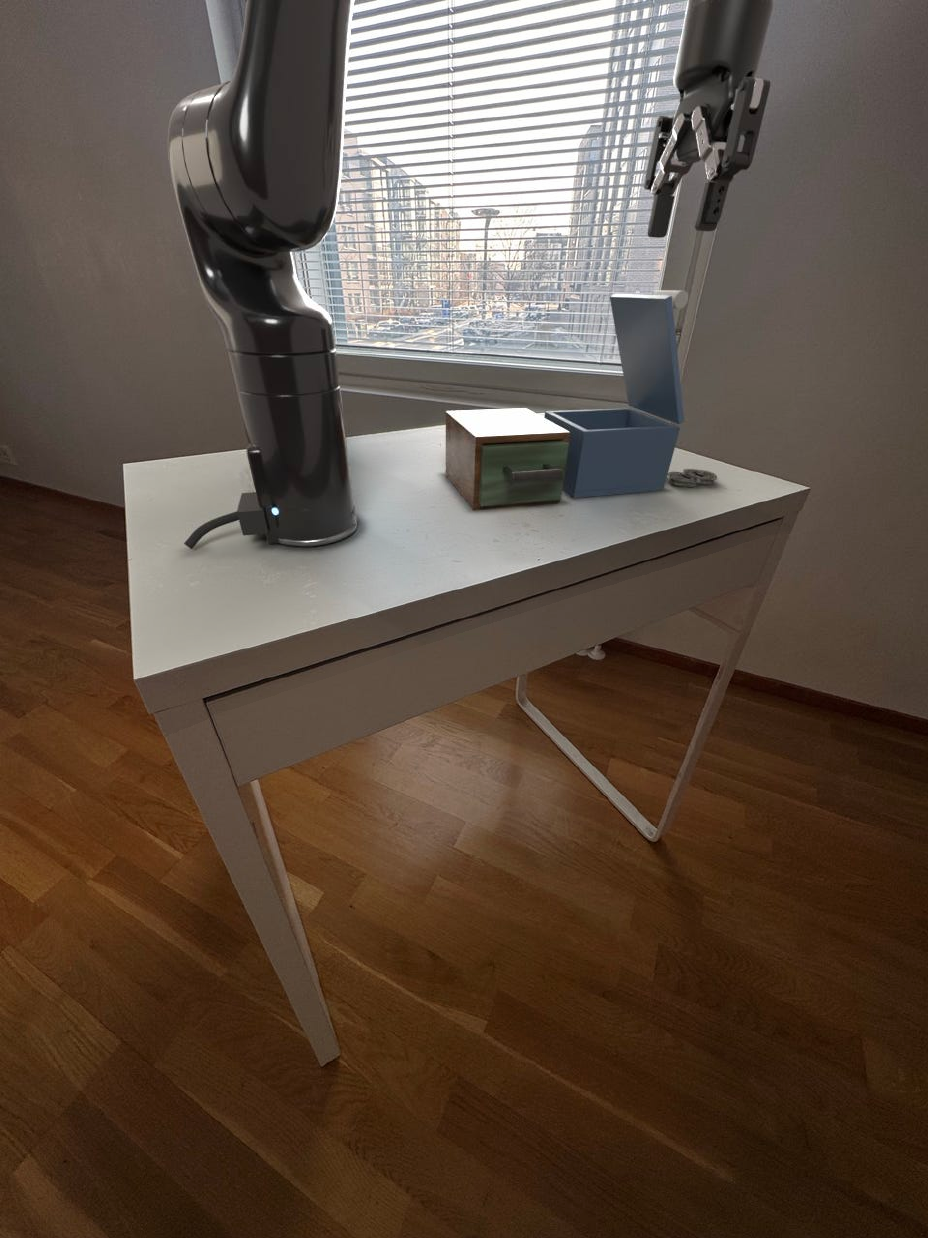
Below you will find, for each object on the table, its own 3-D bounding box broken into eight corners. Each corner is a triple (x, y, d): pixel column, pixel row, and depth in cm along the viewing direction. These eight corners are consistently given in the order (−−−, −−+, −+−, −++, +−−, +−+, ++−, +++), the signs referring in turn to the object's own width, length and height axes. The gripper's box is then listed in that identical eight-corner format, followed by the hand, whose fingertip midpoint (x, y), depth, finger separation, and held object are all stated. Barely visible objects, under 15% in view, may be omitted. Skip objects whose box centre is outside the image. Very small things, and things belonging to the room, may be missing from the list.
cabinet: (560, 502, 60) (570, 431, 55) (473, 510, 57) (475, 436, 52) (520, 469, 71) (526, 407, 66) (445, 474, 68) (445, 410, 63)
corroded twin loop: (656, 480, 68) (658, 473, 67) (695, 473, 71) (697, 466, 70) (684, 491, 64) (686, 484, 64) (724, 483, 67) (726, 476, 67)
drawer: (575, 511, 56) (585, 452, 52) (491, 519, 53) (495, 458, 49) (523, 468, 68) (527, 418, 64) (453, 473, 66) (454, 421, 62)
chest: (573, 498, 62) (584, 431, 57) (538, 470, 71) (544, 411, 66) (663, 490, 65) (680, 426, 60) (618, 464, 74) (630, 407, 69)
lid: (665, 298, 51) (706, 275, 51) (609, 296, 60) (644, 277, 60) (678, 424, 60) (714, 405, 60) (628, 405, 69) (659, 389, 69)
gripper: (828, -24, 39) (754, 230, 48) (709, 44, 50) (668, 240, 59) (754, -41, 37) (692, 226, 46) (648, 33, 48) (615, 237, 58)
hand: (678, 234), depth 53 cm, fingers open, 8 cm apart
